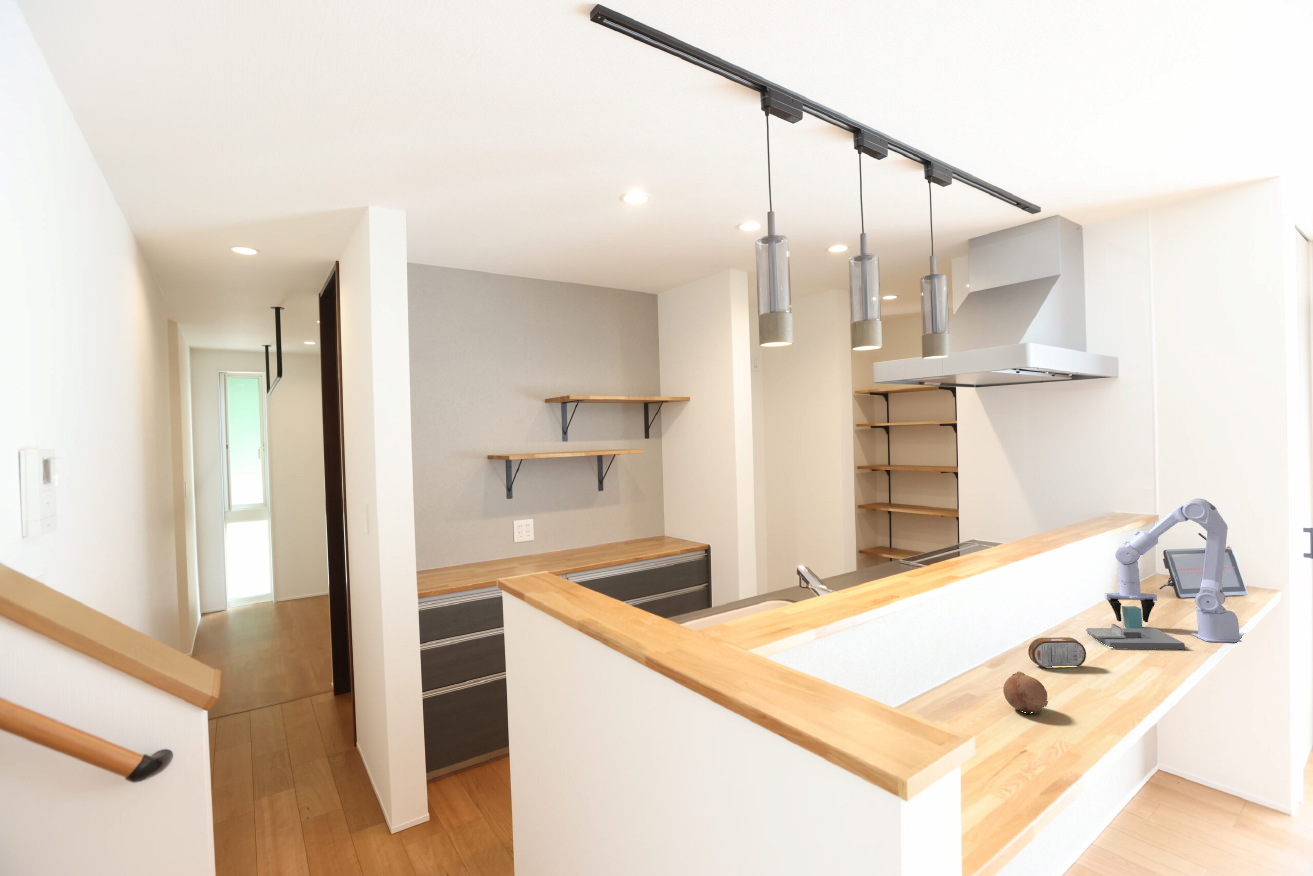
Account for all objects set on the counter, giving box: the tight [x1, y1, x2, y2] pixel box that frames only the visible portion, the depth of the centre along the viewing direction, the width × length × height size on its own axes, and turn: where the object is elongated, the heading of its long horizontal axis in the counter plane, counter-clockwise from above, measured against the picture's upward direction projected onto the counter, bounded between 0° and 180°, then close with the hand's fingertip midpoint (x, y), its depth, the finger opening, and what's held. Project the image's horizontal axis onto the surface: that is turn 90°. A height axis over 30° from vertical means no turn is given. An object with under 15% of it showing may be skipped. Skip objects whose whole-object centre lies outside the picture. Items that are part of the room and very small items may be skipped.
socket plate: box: [1086, 627, 1186, 650], centre depth 202 cm, size 20×16×2 cm
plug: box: [1121, 605, 1144, 628], centre depth 216 cm, size 4×4×7 cm
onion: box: [1003, 671, 1049, 714], centre depth 155 cm, size 10×9×10 cm
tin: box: [1027, 636, 1087, 668], centre depth 183 cm, size 15×3×8 cm, turn 84°
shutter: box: [1085, 623, 1126, 638], centre depth 203 cm, size 8×8×2 cm
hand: (1132, 621), depth 216 cm, fingers open, 7 cm apart
